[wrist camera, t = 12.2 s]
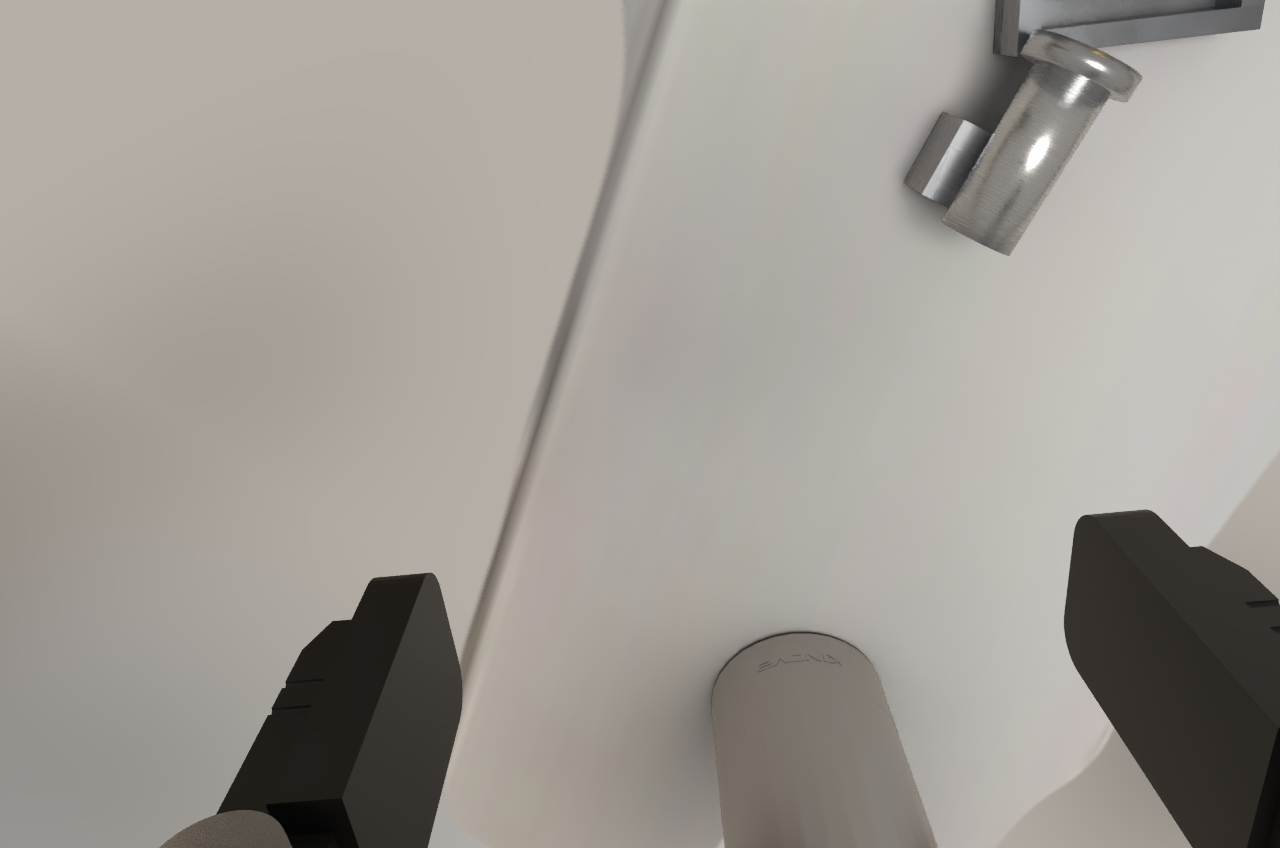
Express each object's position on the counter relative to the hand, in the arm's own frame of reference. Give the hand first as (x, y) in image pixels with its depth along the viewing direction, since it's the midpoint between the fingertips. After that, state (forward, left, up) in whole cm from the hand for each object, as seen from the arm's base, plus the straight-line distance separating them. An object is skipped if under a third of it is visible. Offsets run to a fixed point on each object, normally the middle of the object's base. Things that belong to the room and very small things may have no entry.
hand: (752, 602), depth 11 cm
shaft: (+1, -13, -28) cm, 31 cm away
